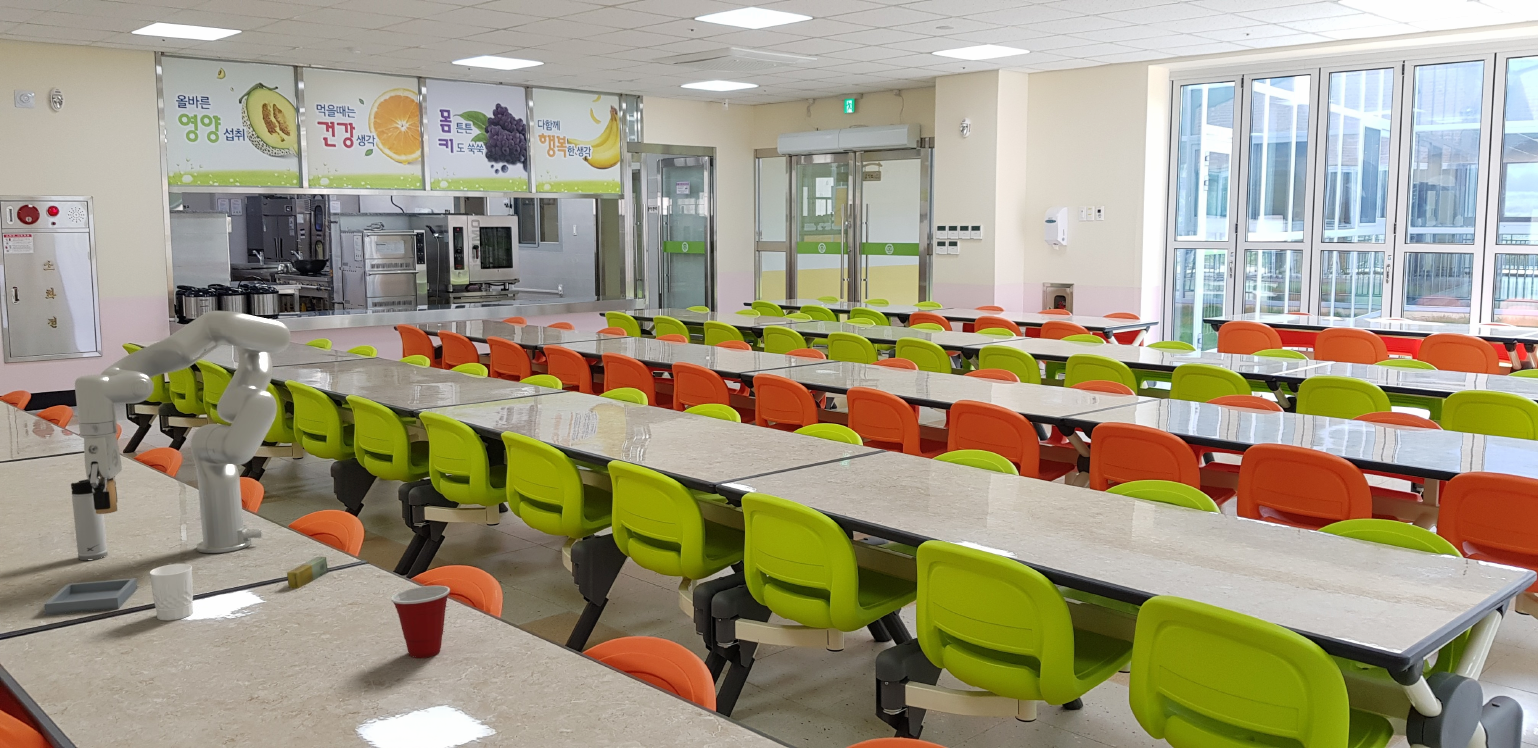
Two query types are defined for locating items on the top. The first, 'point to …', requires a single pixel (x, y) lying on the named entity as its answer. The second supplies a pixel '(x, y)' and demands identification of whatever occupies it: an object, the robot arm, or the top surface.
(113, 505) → the battery cell
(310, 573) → the medication box
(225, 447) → the robot arm
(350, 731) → the top surface
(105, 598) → the tray
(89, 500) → the travel mug
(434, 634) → the plastic cup
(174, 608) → the white cup
